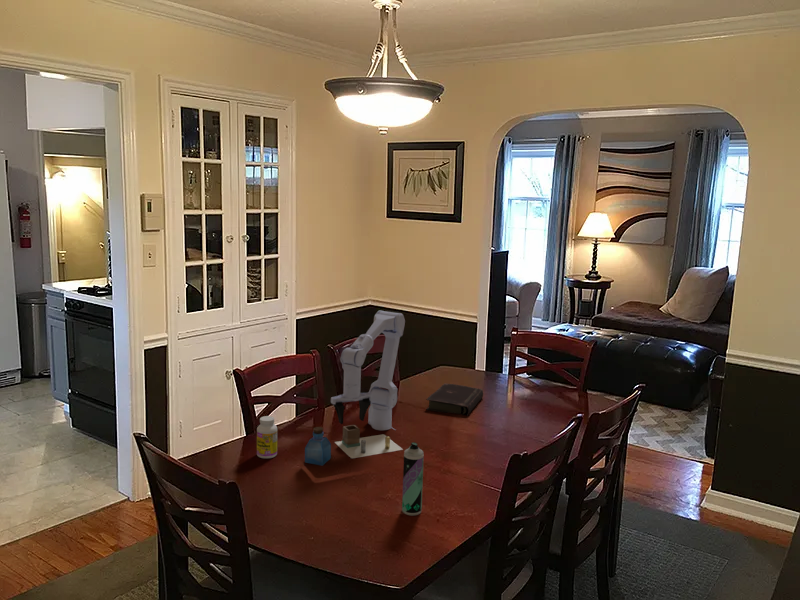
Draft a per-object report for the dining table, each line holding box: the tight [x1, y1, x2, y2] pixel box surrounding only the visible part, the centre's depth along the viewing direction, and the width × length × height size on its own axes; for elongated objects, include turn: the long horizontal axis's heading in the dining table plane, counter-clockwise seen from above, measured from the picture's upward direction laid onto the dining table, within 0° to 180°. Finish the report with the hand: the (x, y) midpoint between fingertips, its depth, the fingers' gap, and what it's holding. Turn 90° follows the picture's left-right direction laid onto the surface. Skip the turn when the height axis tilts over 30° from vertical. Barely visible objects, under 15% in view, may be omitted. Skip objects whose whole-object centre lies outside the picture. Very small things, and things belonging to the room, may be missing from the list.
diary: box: [425, 383, 484, 417], centre depth 281 cm, size 19×25×5 cm
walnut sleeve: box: [341, 424, 361, 448], centre depth 232 cm, size 5×5×6 cm
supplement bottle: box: [256, 415, 278, 459], centre depth 223 cm, size 7×7×13 cm
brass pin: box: [385, 435, 391, 449], centre depth 230 cm, size 2×2×4 cm
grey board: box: [334, 433, 404, 459], centre depth 232 cm, size 15×19×1 cm
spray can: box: [401, 442, 425, 516], centre depth 188 cm, size 6×6×20 cm
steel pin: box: [361, 440, 366, 453], centre depth 226 cm, size 2×2×4 cm
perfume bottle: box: [304, 426, 332, 466], centre depth 218 cm, size 6×6×12 cm
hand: (351, 421), depth 231 cm, fingers open, 7 cm apart
